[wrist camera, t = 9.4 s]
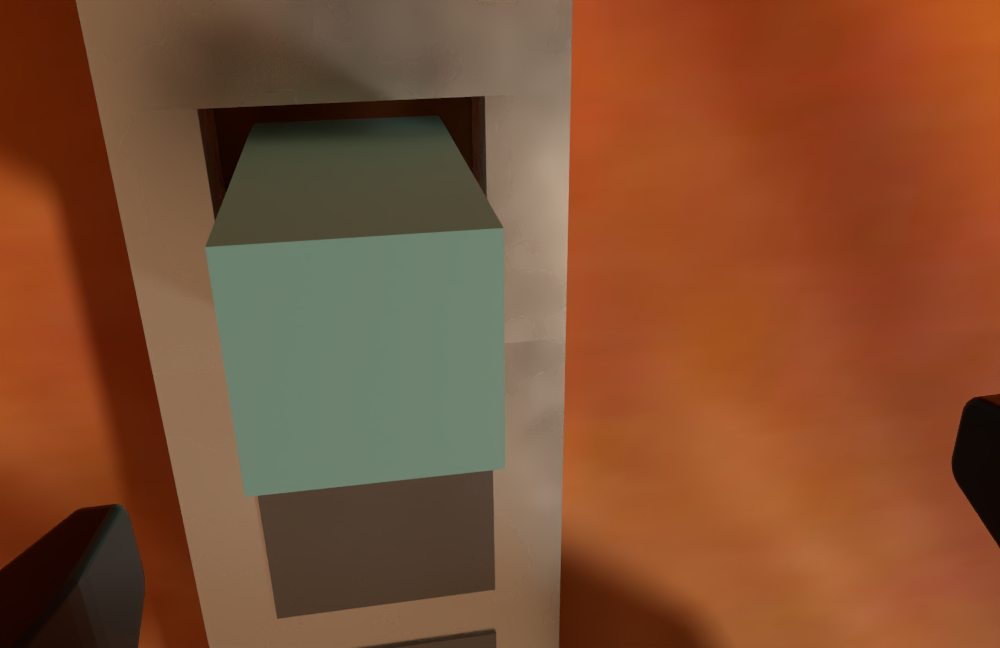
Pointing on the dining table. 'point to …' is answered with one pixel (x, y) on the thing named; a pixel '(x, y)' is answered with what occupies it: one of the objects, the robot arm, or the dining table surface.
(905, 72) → the dining table surface
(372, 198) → the square peg
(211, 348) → the square hole board
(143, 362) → the dining table surface
